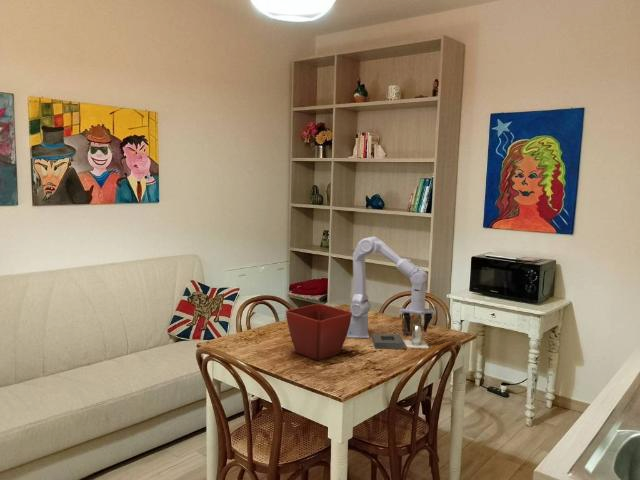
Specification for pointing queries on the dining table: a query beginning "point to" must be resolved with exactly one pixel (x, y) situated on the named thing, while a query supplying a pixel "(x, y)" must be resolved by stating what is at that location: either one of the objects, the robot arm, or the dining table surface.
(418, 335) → the silver metal cylinder
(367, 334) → the robot arm
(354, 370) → the dining table surface
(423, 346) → the mat
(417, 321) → the tin
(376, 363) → the dining table surface
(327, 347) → the plant pot
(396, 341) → the housing
